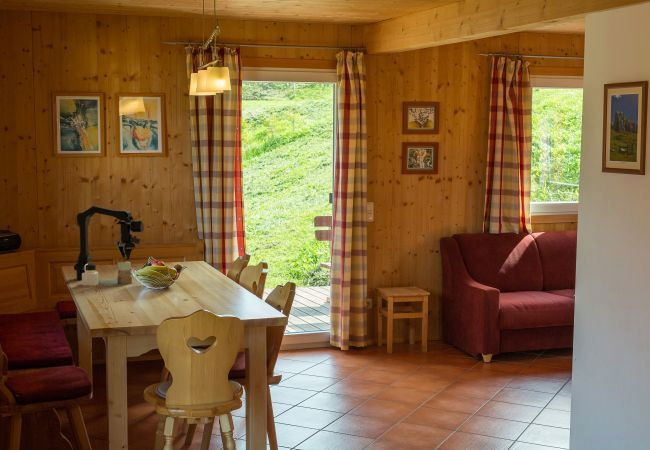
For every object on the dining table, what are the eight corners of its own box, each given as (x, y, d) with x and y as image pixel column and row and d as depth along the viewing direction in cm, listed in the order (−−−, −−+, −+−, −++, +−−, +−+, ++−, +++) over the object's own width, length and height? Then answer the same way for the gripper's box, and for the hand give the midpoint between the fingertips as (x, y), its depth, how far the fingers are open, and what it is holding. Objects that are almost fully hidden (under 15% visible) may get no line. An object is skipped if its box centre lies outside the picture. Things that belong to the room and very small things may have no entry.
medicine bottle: (98, 284, 482) (98, 263, 481) (94, 286, 475) (93, 265, 474) (86, 283, 483) (86, 263, 482) (81, 286, 476) (81, 264, 475)
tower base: (117, 283, 483) (117, 276, 483) (127, 282, 487) (127, 275, 487) (121, 284, 479) (121, 277, 478) (131, 283, 482) (131, 276, 482)
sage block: (117, 269, 483) (117, 262, 483) (128, 268, 486) (128, 261, 486) (120, 270, 478) (120, 263, 478) (131, 269, 481) (131, 262, 481)
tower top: (118, 276, 484) (118, 269, 484) (128, 275, 486) (128, 268, 486) (120, 277, 479) (119, 270, 478) (130, 276, 481) (130, 269, 481)
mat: (94, 281, 492) (94, 280, 492) (123, 279, 500) (123, 278, 500) (105, 287, 472) (105, 286, 472) (135, 284, 480) (135, 284, 480)
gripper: (143, 233, 488) (144, 259, 489) (134, 230, 504) (134, 256, 505) (124, 233, 482) (125, 261, 484) (115, 230, 498) (116, 257, 500)
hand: (125, 258), depth 493 cm, fingers open, 9 cm apart
